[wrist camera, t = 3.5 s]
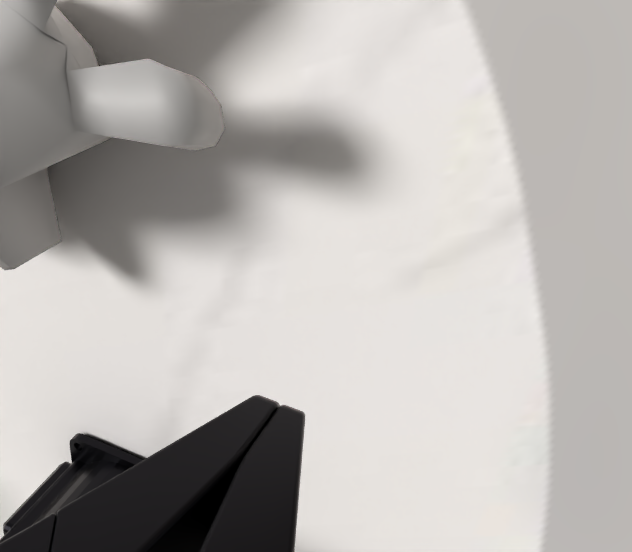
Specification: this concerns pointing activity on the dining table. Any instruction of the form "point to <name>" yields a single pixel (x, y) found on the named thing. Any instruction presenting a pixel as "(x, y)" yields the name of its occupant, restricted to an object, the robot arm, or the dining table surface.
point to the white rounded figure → (77, 115)
